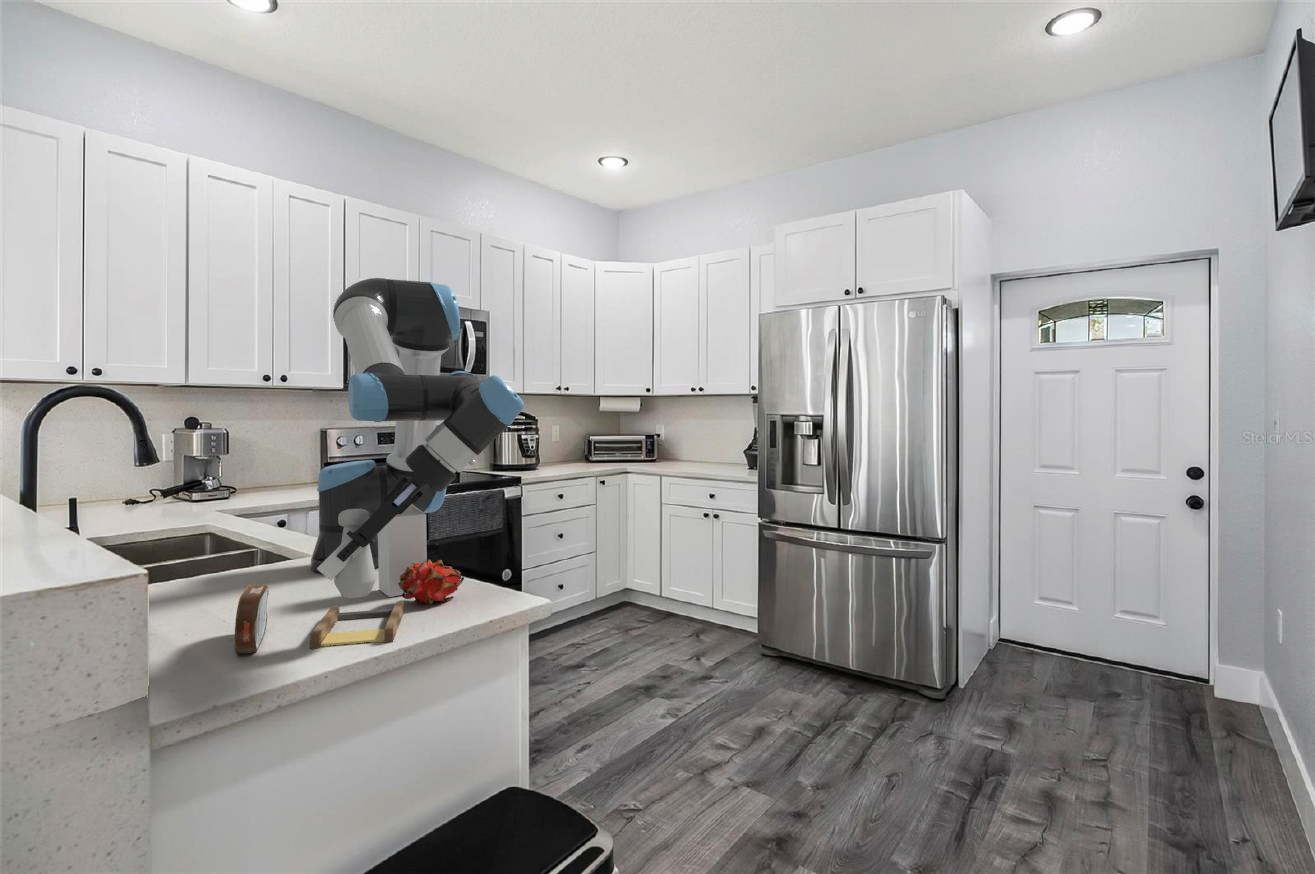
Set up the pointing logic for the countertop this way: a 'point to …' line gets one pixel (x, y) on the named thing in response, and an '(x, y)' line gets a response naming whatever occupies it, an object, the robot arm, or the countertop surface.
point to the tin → (251, 619)
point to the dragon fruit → (429, 582)
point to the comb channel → (335, 615)
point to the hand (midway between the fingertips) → (327, 571)
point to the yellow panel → (353, 637)
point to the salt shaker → (355, 559)
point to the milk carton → (400, 548)
